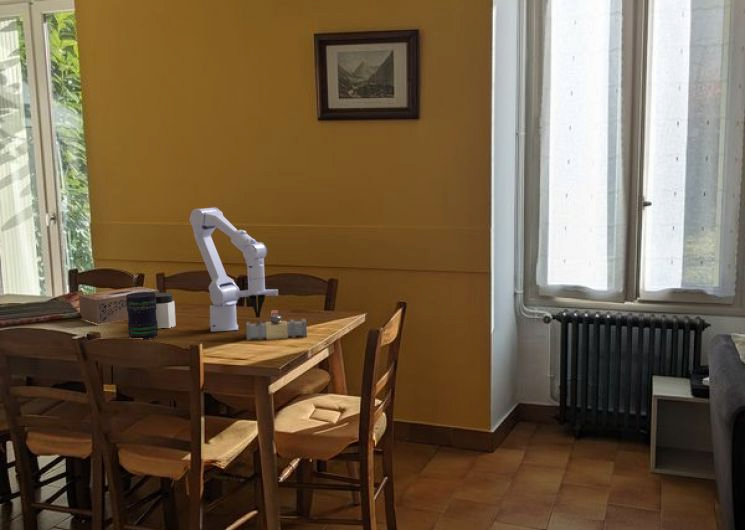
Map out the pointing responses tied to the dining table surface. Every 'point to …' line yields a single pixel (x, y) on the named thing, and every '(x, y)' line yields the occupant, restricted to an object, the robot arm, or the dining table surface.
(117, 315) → the tissue box cover
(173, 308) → the jar
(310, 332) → the dining table surface
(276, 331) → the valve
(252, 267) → the robot arm
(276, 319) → the lever
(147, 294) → the storage jar
